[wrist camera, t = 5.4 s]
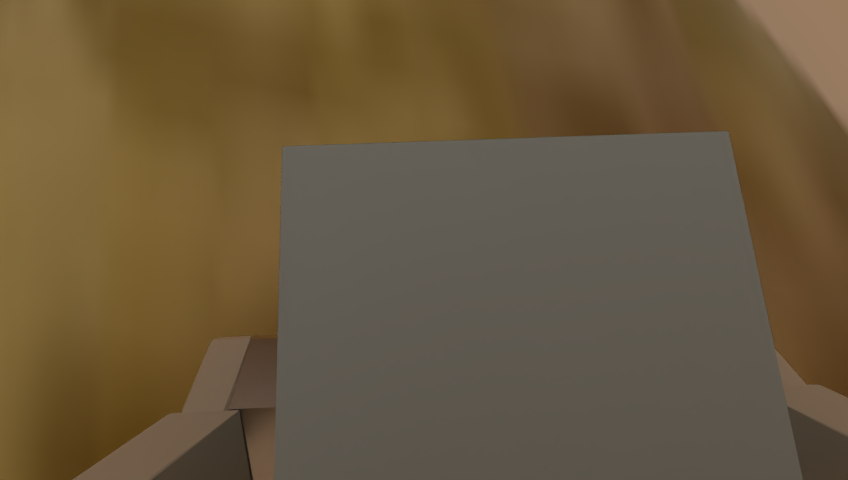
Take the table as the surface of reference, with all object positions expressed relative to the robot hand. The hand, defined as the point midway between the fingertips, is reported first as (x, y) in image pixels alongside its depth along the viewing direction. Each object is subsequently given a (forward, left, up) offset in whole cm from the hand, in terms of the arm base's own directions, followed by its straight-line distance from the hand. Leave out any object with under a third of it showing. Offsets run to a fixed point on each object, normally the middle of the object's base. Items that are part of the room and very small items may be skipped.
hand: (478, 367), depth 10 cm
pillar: (0, -1, -5) cm, 5 cm away
